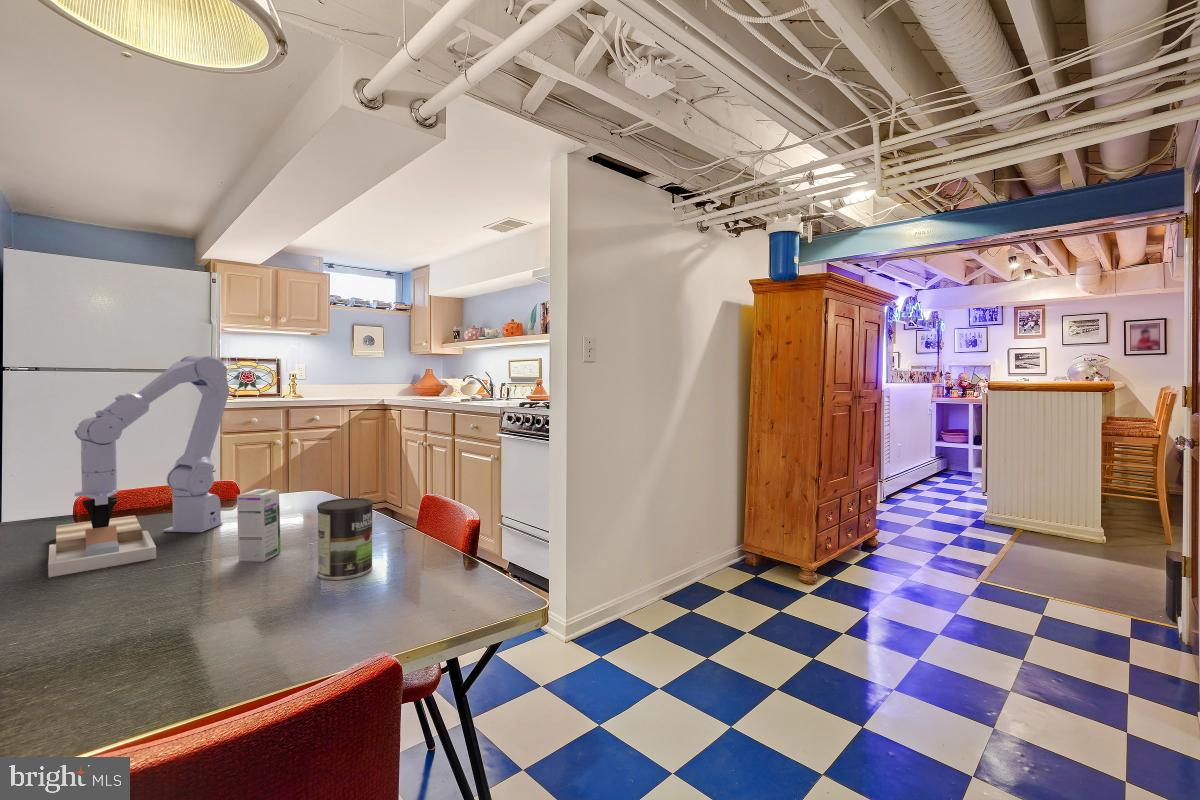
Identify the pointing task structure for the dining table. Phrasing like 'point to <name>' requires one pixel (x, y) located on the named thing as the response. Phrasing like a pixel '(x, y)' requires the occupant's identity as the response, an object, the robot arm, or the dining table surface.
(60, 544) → the birch board
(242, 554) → the syrup box
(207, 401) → the robot arm
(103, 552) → the slate tile
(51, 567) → the tray
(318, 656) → the dining table surface
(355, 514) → the coffee can
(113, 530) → the terracotta tile
